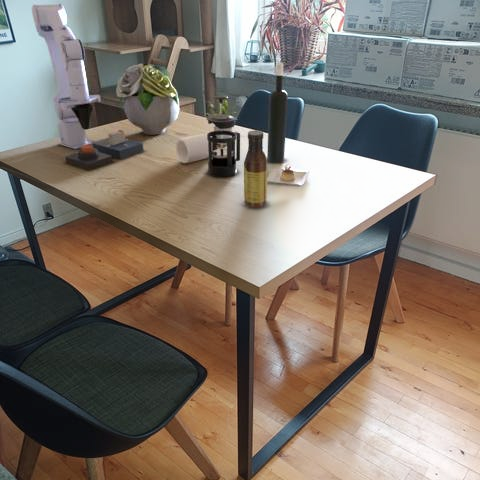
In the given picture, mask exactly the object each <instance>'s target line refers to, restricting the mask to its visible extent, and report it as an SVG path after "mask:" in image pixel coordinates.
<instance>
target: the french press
mask: <svg viewBox="0 0 480 480" xmlns="http://www.w3.org/2000/svg"><path fill="white" fill-rule="evenodd" d="M213 99H214V100H217V99H219V102H220V105H221V114H217V115H213V114H210V115H211V116H210V115H207V116H208V117H207V116H206V117H207V118H206V120H207V124H208V125H211V124H213V126H214V125H215V126H216V127H218V128H220V129H221V130H219V131H214V130H213V131H209V132H208V133H206V134H207V140H208V151H209V158H208V162H207V174H208V175H209V176H211V177H214V178H220V179H221V178H223V179H224V178H225V179H226V178H231V177H234V176H235V175H237V173H238V171H237V162H240V161H241V133H240V132H238V131H232V132H231V131H224V130H222V129H227V128H232V129H233V128H234V127H235V126H236V123H235V121H236V120H237V117H236V116H234V115H233V114H231V115H228V114H222V106H223V104H222V103H223V102H224V99H225V100H227V99H229V97H228V96H227V95H215V96H213ZM217 135H221V139H218V138H217ZM222 135H230V136H231V138H224V139H222ZM217 143H221V145H220V148H218V144H217ZM222 143H227V144H226V148H223V145H222Z"/></svg>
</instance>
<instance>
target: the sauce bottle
mask: <svg viewBox="0 0 480 480" xmlns="http://www.w3.org/2000/svg"><path fill="white" fill-rule="evenodd" d="M247 139H248V143H247V144H248V148H247V152H246V156H245V158H244V161H243V192H244V193H243V196H244V197H243V198H244V204H245V205H246V206H247V207H250V208H254V209H258V208H262V207H265V206H266V204H267V199H268V197H267V193H268V182H267V176H268V166H267V164H268V161H267V155H266V153H265V152H264V151H263V148H264V147H263V145H264V143H263V142H264V141H263V139H264V132H263V131H262V130H255V129H254V130H249V131H248V132H247Z"/></svg>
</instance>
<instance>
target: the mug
mask: <svg viewBox="0 0 480 480" xmlns="http://www.w3.org/2000/svg"><path fill="white" fill-rule="evenodd" d="M207 134H208V133H200V134H195V135H190V136H185V137H181V138H178V139H177V141H176V144H175V150H176V155H177V157H178V159H179V161H180V162H181V163H183V164H190V163H193V162H197V161H202V160H207V159H209V151H208V140H207Z"/></svg>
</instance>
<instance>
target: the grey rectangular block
mask: <svg viewBox="0 0 480 480" xmlns="http://www.w3.org/2000/svg"><path fill="white" fill-rule="evenodd" d="M107 135H108V138H109V141H110V144H111V145H116V144H119V143H122V142H125V139H126V137H125V131H124V130H123V129H118V130H117V131H114V132H109V133H108V134H107Z"/></svg>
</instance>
